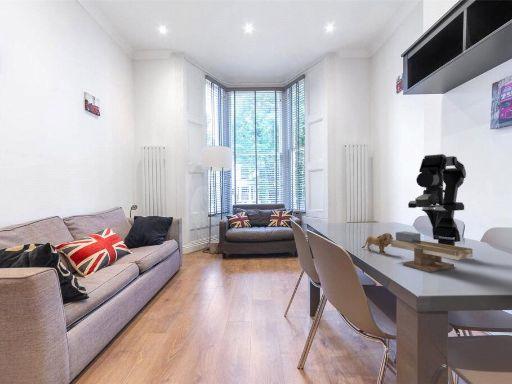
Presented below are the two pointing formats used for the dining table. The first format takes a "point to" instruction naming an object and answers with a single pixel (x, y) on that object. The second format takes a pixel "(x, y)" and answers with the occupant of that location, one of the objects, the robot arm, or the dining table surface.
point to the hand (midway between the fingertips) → (434, 227)
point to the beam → (436, 249)
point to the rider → (408, 237)
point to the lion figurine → (379, 241)
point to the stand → (427, 262)
